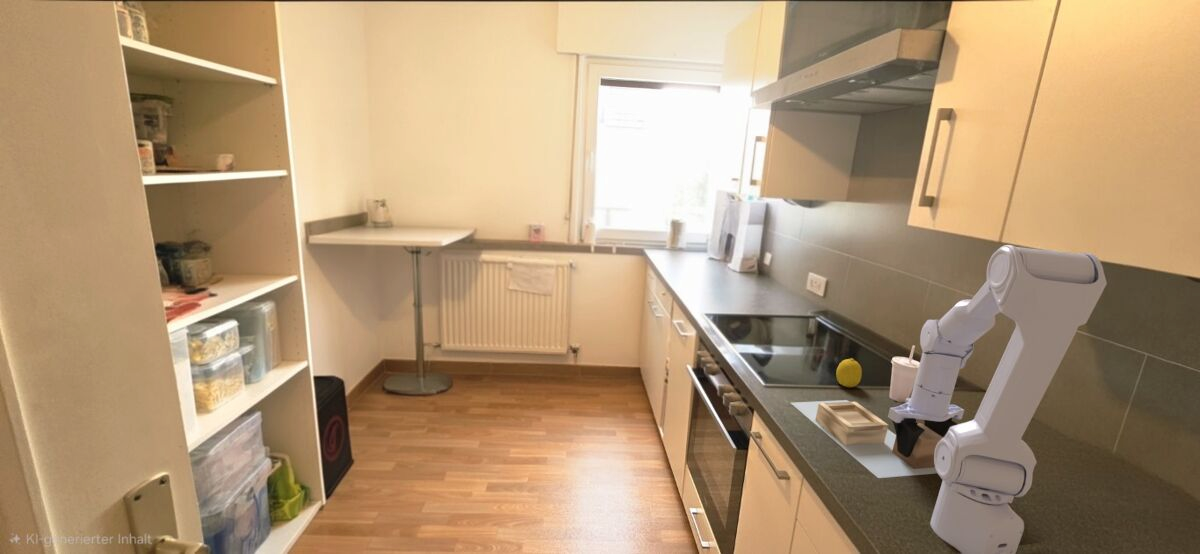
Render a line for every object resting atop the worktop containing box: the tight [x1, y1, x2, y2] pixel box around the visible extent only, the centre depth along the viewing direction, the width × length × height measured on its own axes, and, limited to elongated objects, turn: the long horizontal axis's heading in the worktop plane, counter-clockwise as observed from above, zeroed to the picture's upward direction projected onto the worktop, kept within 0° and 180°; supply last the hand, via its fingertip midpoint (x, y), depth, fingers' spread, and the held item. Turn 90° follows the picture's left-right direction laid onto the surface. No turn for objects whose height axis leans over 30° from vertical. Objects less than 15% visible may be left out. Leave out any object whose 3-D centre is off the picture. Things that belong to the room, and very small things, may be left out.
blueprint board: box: [790, 399, 938, 479], centre depth 96 cm, size 26×15×1 cm, turn 12°
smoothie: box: [889, 345, 920, 403], centre depth 113 cm, size 6×6×14 cm
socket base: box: [815, 401, 889, 446], centre depth 96 cm, size 9×9×4 cm
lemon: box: [835, 357, 863, 388], centre depth 117 cm, size 6×6×8 cm
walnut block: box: [892, 422, 943, 469], centre depth 88 cm, size 5×5×6 cm
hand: (915, 453), depth 88 cm, fingers closed on walnut block, 5 cm apart
